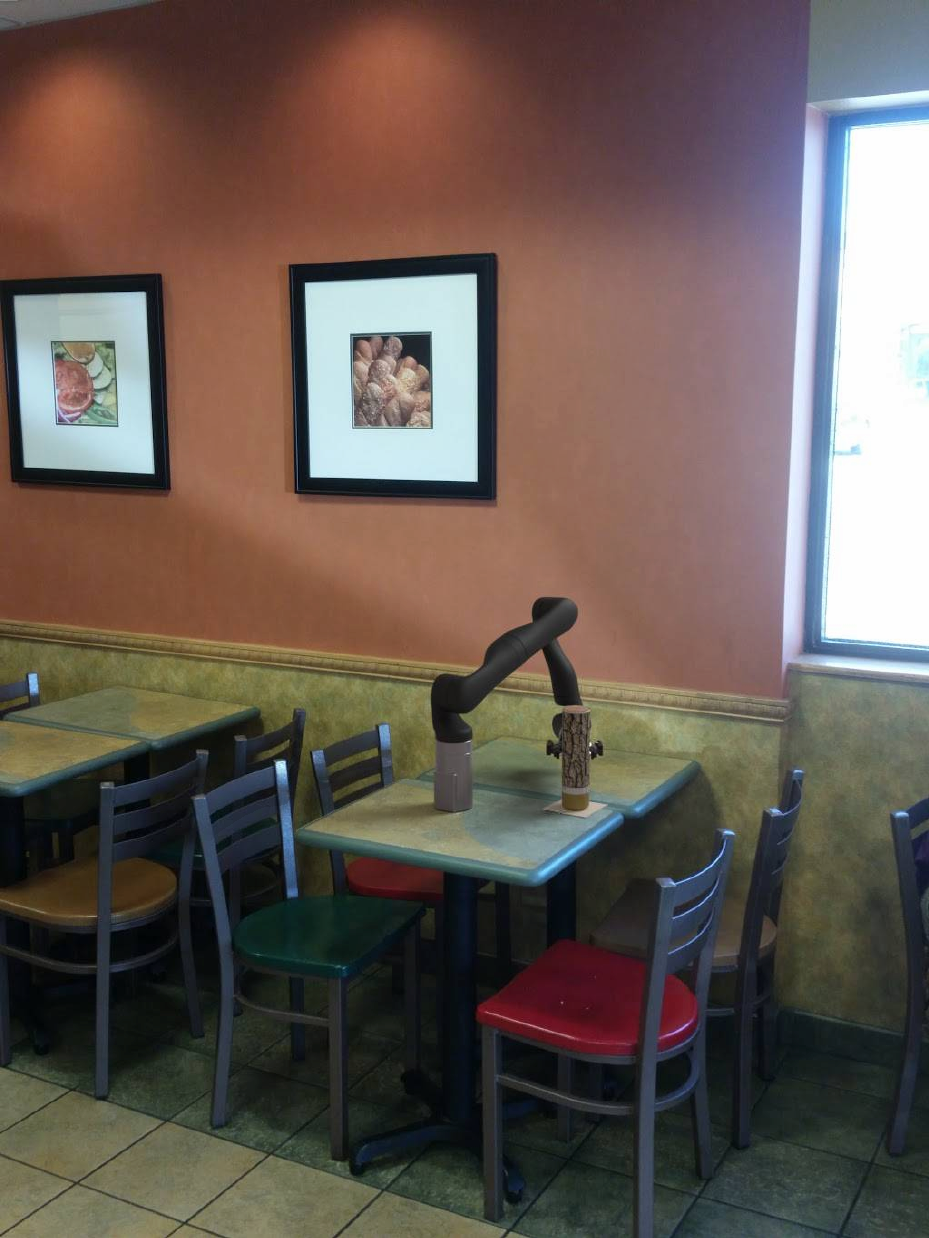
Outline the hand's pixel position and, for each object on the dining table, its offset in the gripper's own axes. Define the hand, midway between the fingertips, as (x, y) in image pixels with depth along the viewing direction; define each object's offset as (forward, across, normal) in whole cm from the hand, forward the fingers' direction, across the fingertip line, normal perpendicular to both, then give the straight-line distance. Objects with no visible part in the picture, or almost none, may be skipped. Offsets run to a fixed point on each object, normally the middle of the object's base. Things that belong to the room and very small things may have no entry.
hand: (575, 755), depth 304 cm
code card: (+1, 0, +13) cm, 13 cm away
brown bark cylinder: (+1, 0, +13) cm, 13 cm away
